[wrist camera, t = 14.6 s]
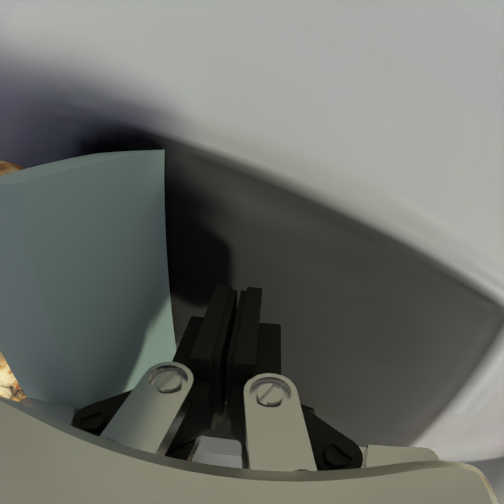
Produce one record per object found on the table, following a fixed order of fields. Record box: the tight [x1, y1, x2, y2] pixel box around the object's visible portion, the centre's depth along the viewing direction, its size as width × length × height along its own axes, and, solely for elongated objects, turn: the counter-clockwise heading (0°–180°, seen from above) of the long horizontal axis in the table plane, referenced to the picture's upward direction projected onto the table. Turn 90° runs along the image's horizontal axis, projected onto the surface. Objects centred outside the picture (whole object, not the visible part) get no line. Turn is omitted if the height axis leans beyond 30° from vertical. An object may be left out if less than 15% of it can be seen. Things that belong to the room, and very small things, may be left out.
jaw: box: [0, 150, 176, 410], centre depth 9 cm, size 3×12×7 cm, turn 177°
